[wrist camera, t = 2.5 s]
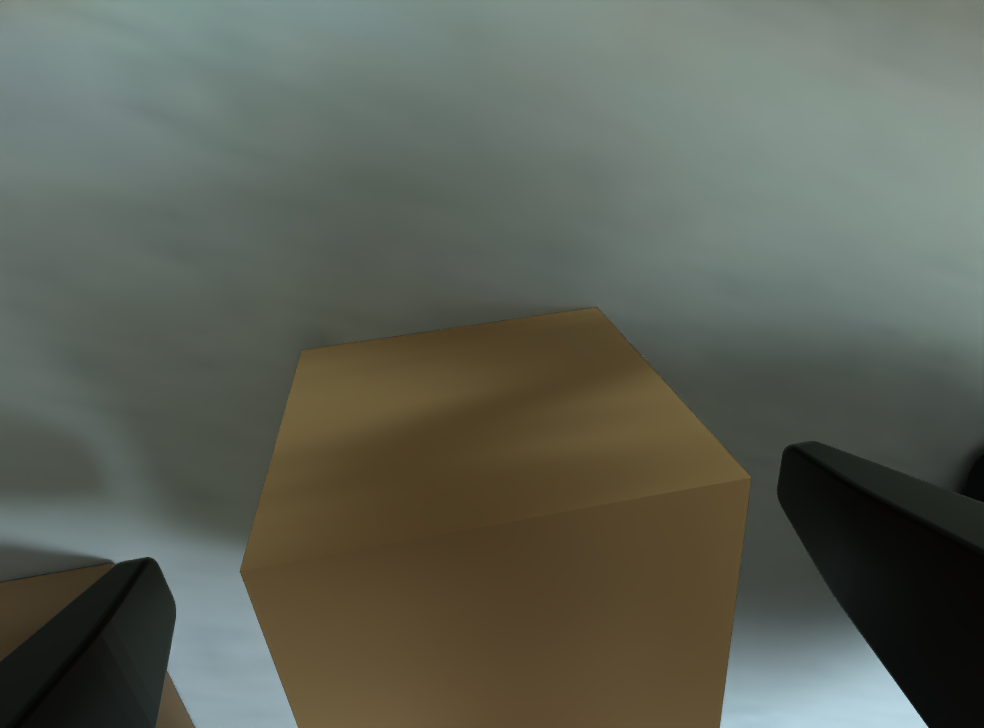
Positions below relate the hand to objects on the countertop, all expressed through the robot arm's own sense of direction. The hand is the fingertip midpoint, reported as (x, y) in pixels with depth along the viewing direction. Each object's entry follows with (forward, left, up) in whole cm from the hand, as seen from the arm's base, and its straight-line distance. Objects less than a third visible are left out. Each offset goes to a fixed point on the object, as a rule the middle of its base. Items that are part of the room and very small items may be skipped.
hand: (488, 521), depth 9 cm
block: (0, 0, -2) cm, 2 cm away
